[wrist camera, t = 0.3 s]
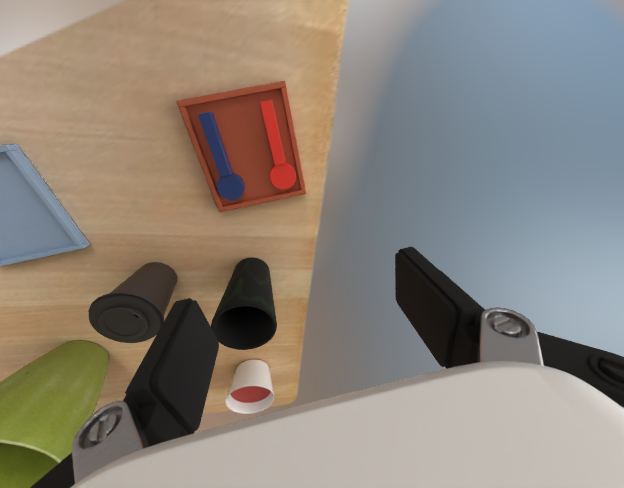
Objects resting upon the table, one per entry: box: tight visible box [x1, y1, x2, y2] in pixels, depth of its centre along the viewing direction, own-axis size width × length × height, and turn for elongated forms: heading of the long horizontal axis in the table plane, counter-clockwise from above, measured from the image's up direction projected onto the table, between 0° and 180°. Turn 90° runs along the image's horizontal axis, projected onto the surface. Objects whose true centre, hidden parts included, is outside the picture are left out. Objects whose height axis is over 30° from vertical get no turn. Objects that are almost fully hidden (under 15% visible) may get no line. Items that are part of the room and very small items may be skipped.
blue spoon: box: [198, 112, 245, 200], centre depth 29 cm, size 10×3×2 cm, turn 10°
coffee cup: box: [89, 262, 177, 343], centre depth 32 cm, size 8×8×10 cm
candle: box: [226, 360, 274, 414], centre depth 47 cm, size 9×9×6 cm
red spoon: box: [260, 100, 296, 189], centre depth 29 cm, size 10×3×2 cm, turn 10°
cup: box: [211, 258, 277, 350], centre depth 33 cm, size 8×8×12 cm
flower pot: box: [0, 341, 109, 488], centre depth 34 cm, size 15×15×16 cm
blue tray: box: [0, 144, 90, 266], centre depth 29 cm, size 13×12×1 cm
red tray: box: [177, 81, 306, 212], centre depth 30 cm, size 13×12×1 cm
